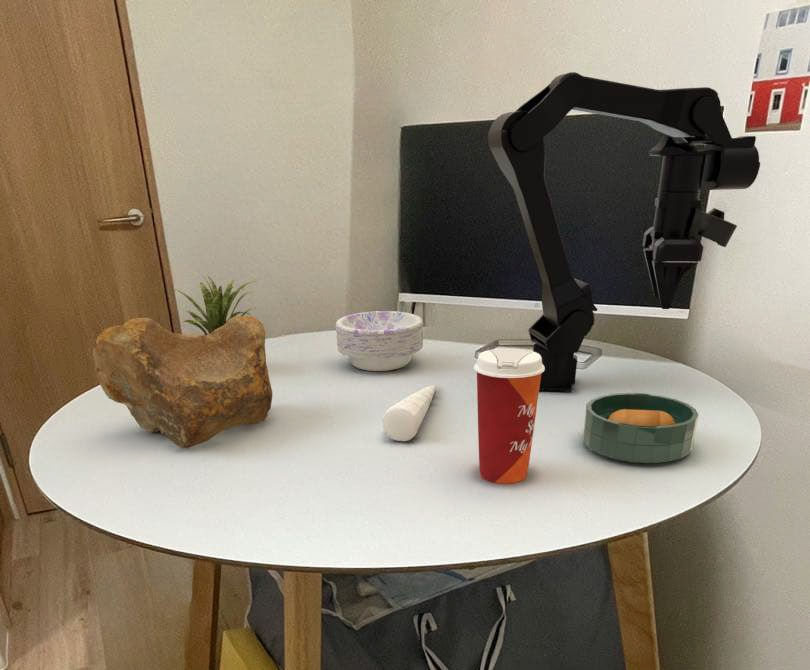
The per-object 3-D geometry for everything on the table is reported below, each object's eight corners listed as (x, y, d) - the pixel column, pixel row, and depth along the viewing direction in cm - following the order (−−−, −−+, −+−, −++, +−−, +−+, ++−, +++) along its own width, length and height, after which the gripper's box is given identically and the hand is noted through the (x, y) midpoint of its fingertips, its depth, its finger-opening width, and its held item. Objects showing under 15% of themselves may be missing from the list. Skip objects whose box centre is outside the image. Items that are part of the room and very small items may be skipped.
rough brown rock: (121, 474, 87) (98, 356, 79) (104, 423, 99) (83, 316, 91) (300, 446, 96) (296, 337, 88) (264, 403, 108) (258, 304, 100)
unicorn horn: (457, 390, 111) (458, 360, 109) (416, 445, 92) (415, 409, 89) (428, 388, 113) (428, 358, 110) (381, 441, 93) (380, 406, 91)
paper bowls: (361, 381, 117) (359, 333, 113) (325, 361, 128) (321, 316, 125) (439, 367, 123) (439, 321, 119) (397, 349, 135) (396, 307, 131)
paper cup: (534, 490, 79) (544, 366, 72) (466, 485, 80) (470, 363, 73) (537, 463, 86) (546, 347, 79) (474, 459, 87) (478, 345, 80)
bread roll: (603, 451, 89) (608, 423, 85) (603, 428, 91) (607, 401, 88) (673, 454, 87) (680, 426, 84) (670, 432, 90) (677, 404, 87)
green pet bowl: (583, 464, 85) (588, 424, 83) (581, 426, 96) (585, 391, 94) (698, 470, 83) (706, 430, 80) (682, 431, 94) (688, 395, 92)
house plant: (289, 368, 125) (279, 271, 117) (233, 388, 115) (219, 283, 107) (231, 358, 132) (218, 265, 124) (174, 376, 122) (155, 277, 114)
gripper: (753, 194, 92) (728, 316, 100) (725, 187, 108) (705, 293, 116) (664, 195, 94) (647, 315, 102) (649, 188, 110) (635, 292, 118)
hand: (661, 303), depth 109 cm, fingers open, 9 cm apart
